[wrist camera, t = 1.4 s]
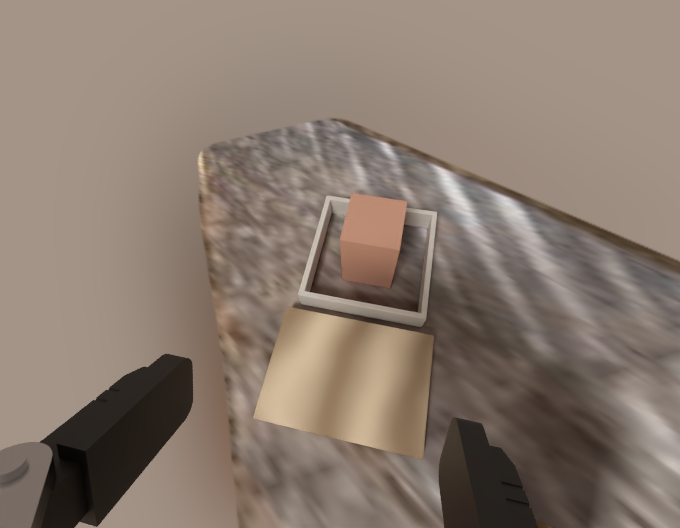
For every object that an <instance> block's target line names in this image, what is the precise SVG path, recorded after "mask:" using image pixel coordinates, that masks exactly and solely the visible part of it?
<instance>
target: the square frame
mask: <svg viewBox="0 0 680 528" xmlns="http://www.w3.org/2000/svg"><path fill="white" fill-rule="evenodd" d="M349 201H350V199H347V198H340V197H333V196H327V197H326V200H325V204H324V207H323V211H322V214H321V217H320V221H319V224H318V228H317V231H316V235H315V238H314V242H313V245H312V248H311V252H310V255H309V259H308V262H307V266H306V269H305V272H304V276H303V279H302V283H301V286H300V290H299V293H298V296H299V299H300V302H301V304H303V305H308V306H313V307H318V308H323V309H328V310H334V311H339V312H344V313H349V314H354V315H359V316H364V317H370V318H375V319H380V320H385V321H390V322H395V323H400V324H406V325H411V326H416V327H422V325H423V324H424V322H425V321H426V316H427V307H428V297H429V287H430V278H431V268H432V258H433V249H434V239H435V229H436V219H437V212H433V211H426V210H420V209H413V208H406V213H405V220H404V225H409V226H416V227H422V228H427V236H426V244H425V253H424V262H423V270H422V279H421V287H420V296H419V305H418V313H417V312H412V311H407V310H401V309H396V308H391V307H386V306H380V305H375V304H370V303H364V302H359V301H354V300H349V299H343V298H338V297H333V296H327V295H322V294H317V293H312V292H310V290H311V286H312V283H313V279H314V275H315V272H316V268H317V265H318V261H319V257H320V254H321V250H322V246H323V243H324V239H325V235H326V232H327V228H328V225H329V221H330V217H331V214H332V213H333V214H339V215H346V213H347V209H348V205H349Z"/></svg>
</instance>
